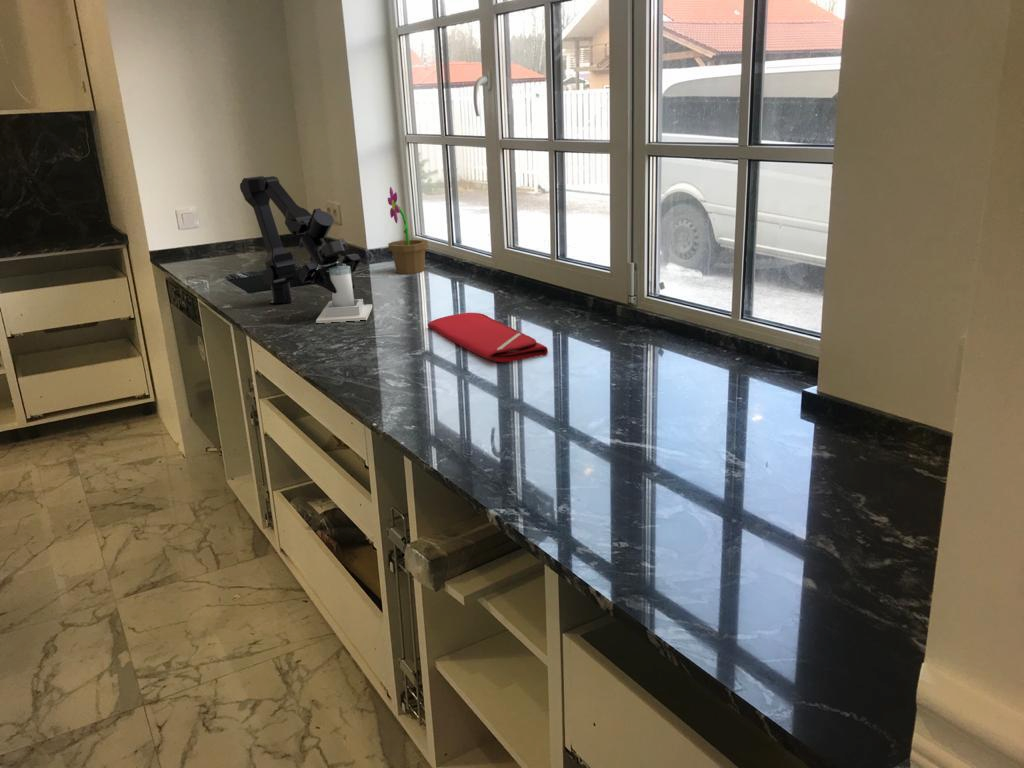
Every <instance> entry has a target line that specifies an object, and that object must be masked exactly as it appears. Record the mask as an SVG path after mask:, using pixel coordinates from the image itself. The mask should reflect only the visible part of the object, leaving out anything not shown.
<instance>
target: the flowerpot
mask: <svg viewBox="0 0 1024 768" xmlns="http://www.w3.org/2000/svg"><path fill="white" fill-rule="evenodd" d="M389 196H390V197H387V203H388V205H389V206H391V208H389V209H390V211H389V216H390V218H391V219H392V218H393V219H394V222H395V224H398V214H399V213H400V215H401V216H402V220H403V223H404V227H405V228H404V230H403V233H404V234H405V239H402V240H396V241H392V242H388V243H387V246H388V251H389V252H392V258H393V263H394V266H395V271H396V273H397V274H400V275H410V274H411V275H413V274H421V273H423V272H425V267H426V263H425V262H426V249H428V248H429V242H428V240H426V239H410V235H409V229H408V228H409V226H408V224H407V223H408V222H407V219H406V216H405V213H404V211H403V210H402V208H401V206H399V204H398V203H397V202H398V194H397V192H394V190H393V188H392V186H390V187H389Z"/></svg>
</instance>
